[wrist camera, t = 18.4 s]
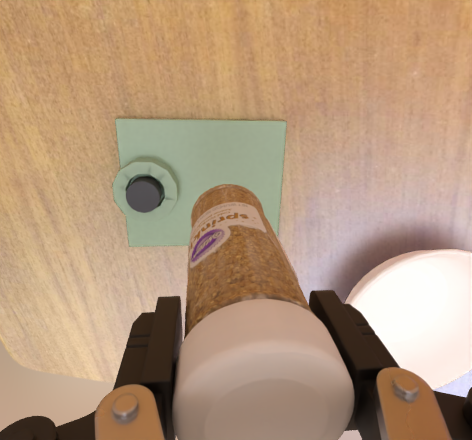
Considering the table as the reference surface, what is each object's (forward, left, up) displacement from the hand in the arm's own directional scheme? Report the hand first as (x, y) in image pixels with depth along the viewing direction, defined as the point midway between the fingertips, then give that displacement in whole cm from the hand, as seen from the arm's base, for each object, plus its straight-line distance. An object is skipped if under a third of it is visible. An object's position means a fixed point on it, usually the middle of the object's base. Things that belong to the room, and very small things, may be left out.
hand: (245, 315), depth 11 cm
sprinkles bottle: (0, 0, -10) cm, 10 cm away
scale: (-1, -2, -24) cm, 24 cm away
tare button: (-7, -2, -21) cm, 22 cm away
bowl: (+23, -17, -24) cm, 37 cm away
